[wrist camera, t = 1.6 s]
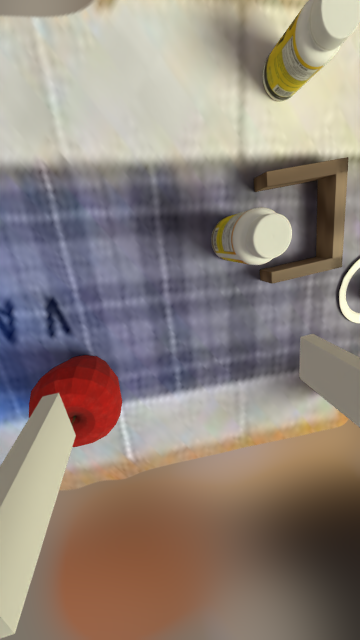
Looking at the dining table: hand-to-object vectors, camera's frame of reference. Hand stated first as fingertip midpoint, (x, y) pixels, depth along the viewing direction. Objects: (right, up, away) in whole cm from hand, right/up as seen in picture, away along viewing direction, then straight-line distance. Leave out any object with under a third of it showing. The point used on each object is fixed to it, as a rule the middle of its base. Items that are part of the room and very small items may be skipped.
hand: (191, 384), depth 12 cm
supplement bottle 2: (+11, +31, +14) cm, 36 cm away
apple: (-14, -4, +21) cm, 25 cm away
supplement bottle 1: (+6, +14, +18) cm, 24 cm away
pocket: (+14, +16, +19) cm, 29 cm away
